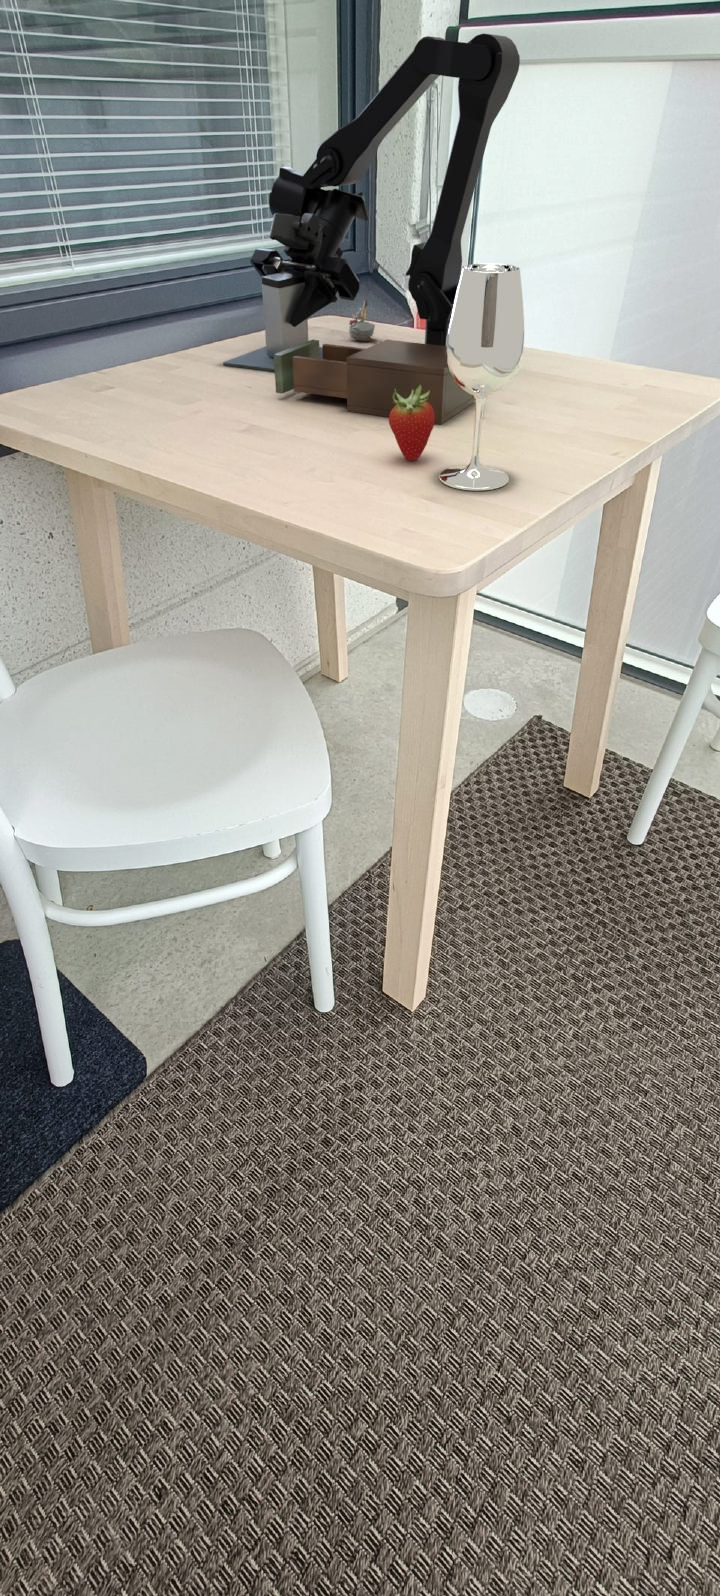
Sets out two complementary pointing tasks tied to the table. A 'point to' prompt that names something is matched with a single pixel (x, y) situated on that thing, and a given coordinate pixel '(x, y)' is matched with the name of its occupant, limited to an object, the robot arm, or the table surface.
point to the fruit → (412, 423)
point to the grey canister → (282, 311)
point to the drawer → (313, 369)
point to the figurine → (361, 326)
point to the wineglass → (484, 353)
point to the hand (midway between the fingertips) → (279, 322)
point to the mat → (257, 360)
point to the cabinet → (403, 379)
